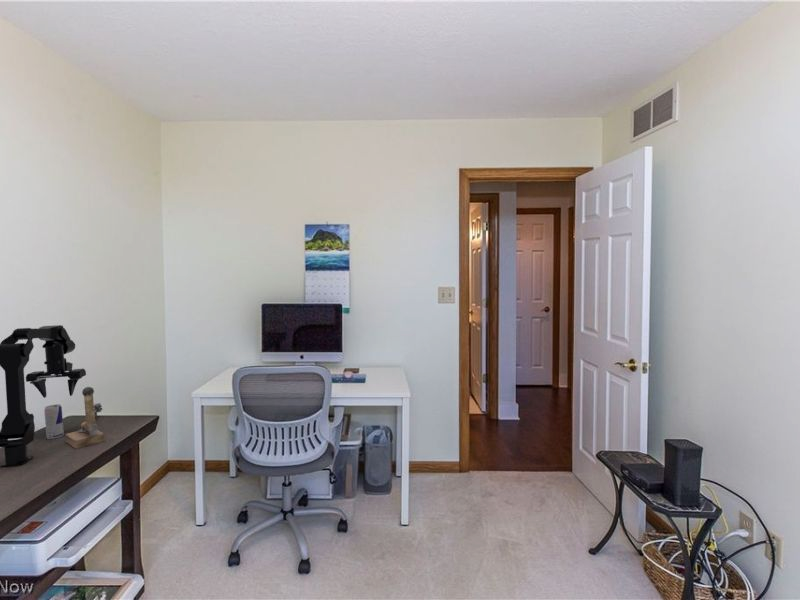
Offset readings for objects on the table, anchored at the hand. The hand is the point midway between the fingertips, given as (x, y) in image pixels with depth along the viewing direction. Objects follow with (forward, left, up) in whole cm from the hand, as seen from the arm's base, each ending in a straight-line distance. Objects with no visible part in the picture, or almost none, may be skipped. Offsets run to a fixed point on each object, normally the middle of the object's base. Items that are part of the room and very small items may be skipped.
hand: (58, 396), depth 183 cm
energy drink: (-4, 0, -15) cm, 16 cm away
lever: (-14, -17, -10) cm, 24 cm away
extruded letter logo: (+14, -6, -15) cm, 21 cm away
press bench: (-13, -14, -15) cm, 24 cm away
